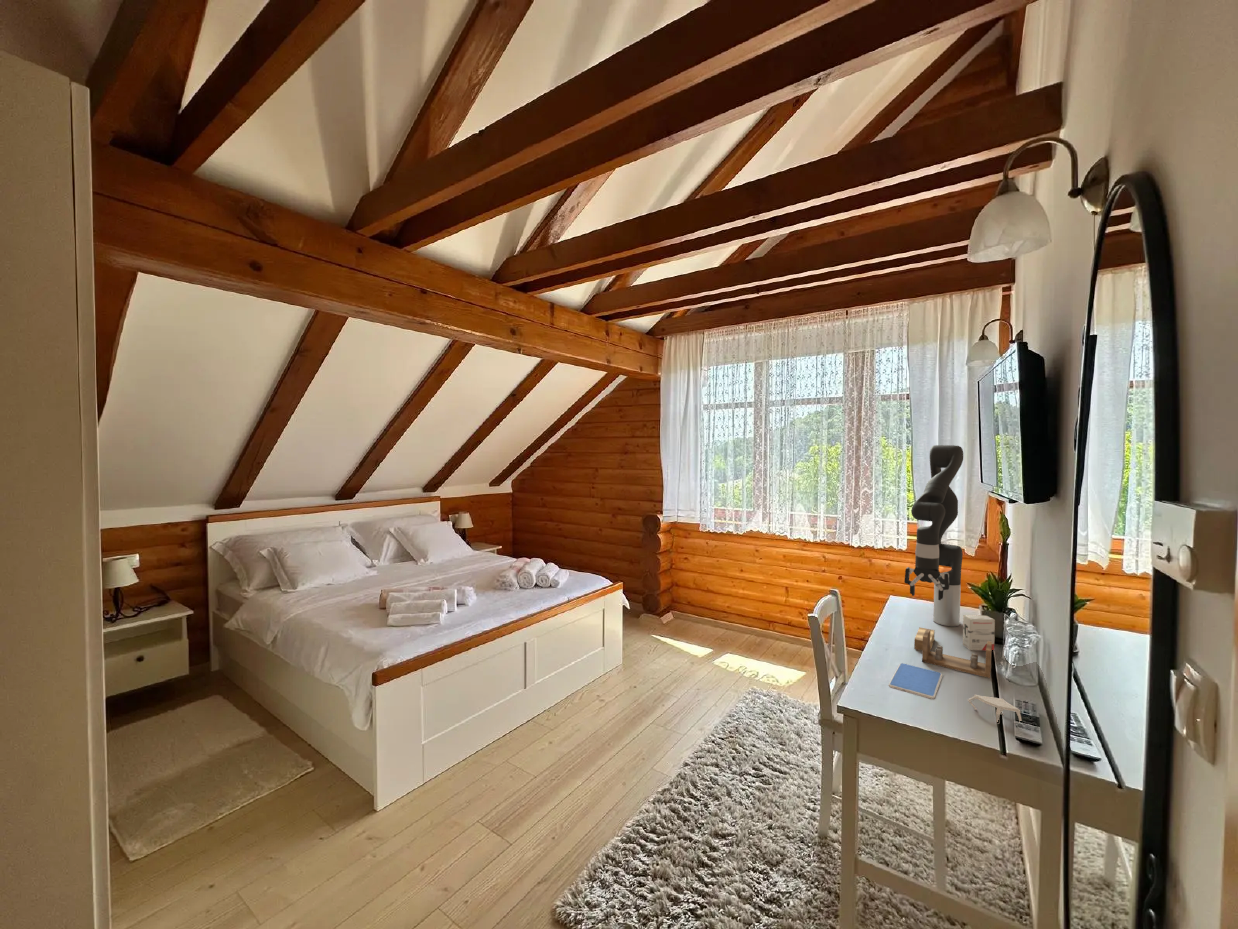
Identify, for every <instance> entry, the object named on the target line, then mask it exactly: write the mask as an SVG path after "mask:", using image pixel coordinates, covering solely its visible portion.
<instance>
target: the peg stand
mask: <svg viewBox="0 0 1238 929" xmlns="http://www.w3.org/2000/svg"><path fill="white" fill-rule="evenodd" d="M943 650H944V647H943V645H942V646H941V645H936V648H935V651H932V650H931V651H930V629H929V628H926V631H925V633H924V635H923V650H921V651H922V652H921V654H922V655H921V657H922V658H921V660H922V661H921V662H922V663H927V664H930V665H935V666H938V667H943V668H947V669H950V670H954V671H960V672H963V673H967V674H971V675H976V676H980V677H985V678H988V679H990V678H991V673H992V652H993V651H992V642H990V641H987V647H986V651H985V663H984V662H979V658H978V657H979V654H977V653H974V652H972V653H971V656H970V659H967V658H962V657H959V656H958V657H957V656H955V655H954V656H953V655H950V654H944V652H943Z"/></svg>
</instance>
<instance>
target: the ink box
mask: <svg viewBox="0 0 1238 929" xmlns="http://www.w3.org/2000/svg"><path fill="white" fill-rule="evenodd" d="M962 619H963V620H962V624H963V625H962V646H964V647H965V648H966V649H968V650H969V651H985V652H986V647H987V641H990V642H992V650H994V651H995V639H996V638H995V636H996V633H995V632H996V629H995V628H996V627H995V626H996V620H995V619H994V618H992V617H990V616H988V615H977V614H976V615H975V614H974V615H973V614H965V615H963V618H962Z"/></svg>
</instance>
